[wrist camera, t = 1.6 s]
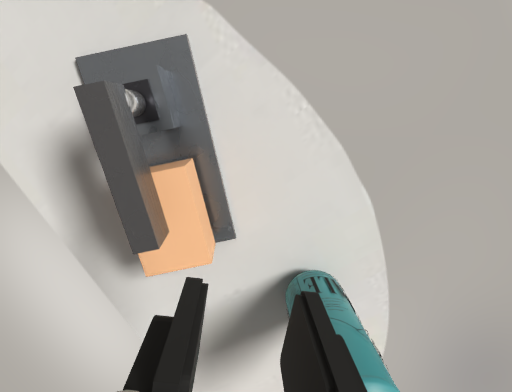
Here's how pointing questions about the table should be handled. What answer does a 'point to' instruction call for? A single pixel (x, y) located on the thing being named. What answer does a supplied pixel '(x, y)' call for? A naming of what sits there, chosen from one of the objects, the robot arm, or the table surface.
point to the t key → (124, 160)
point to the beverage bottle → (345, 327)
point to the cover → (180, 221)
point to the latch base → (168, 113)
